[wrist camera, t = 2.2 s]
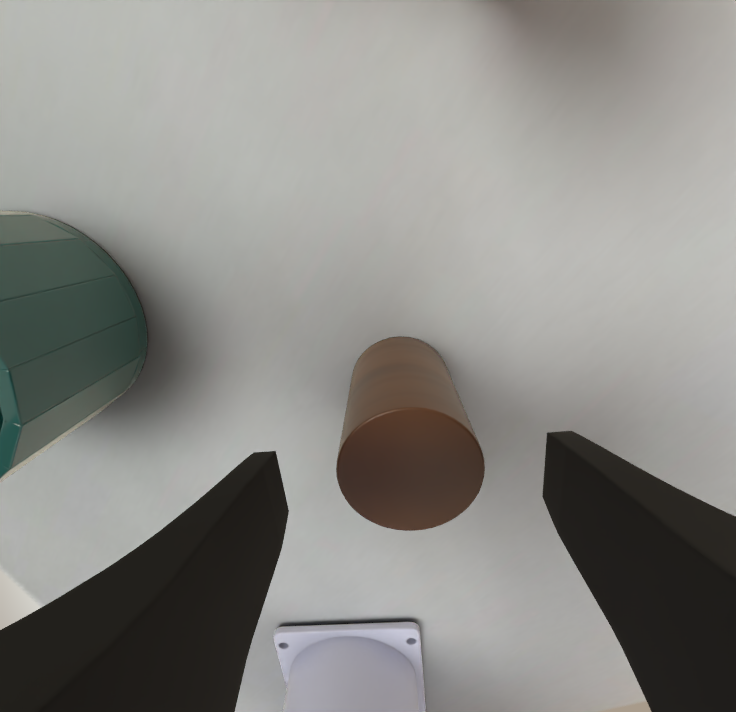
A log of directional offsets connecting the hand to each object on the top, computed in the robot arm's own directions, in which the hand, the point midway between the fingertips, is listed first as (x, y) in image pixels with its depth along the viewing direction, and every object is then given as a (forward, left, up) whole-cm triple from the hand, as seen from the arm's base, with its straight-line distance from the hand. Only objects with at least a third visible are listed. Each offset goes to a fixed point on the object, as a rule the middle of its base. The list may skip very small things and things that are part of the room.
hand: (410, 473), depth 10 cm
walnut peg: (0, 0, -6) cm, 6 cm away
